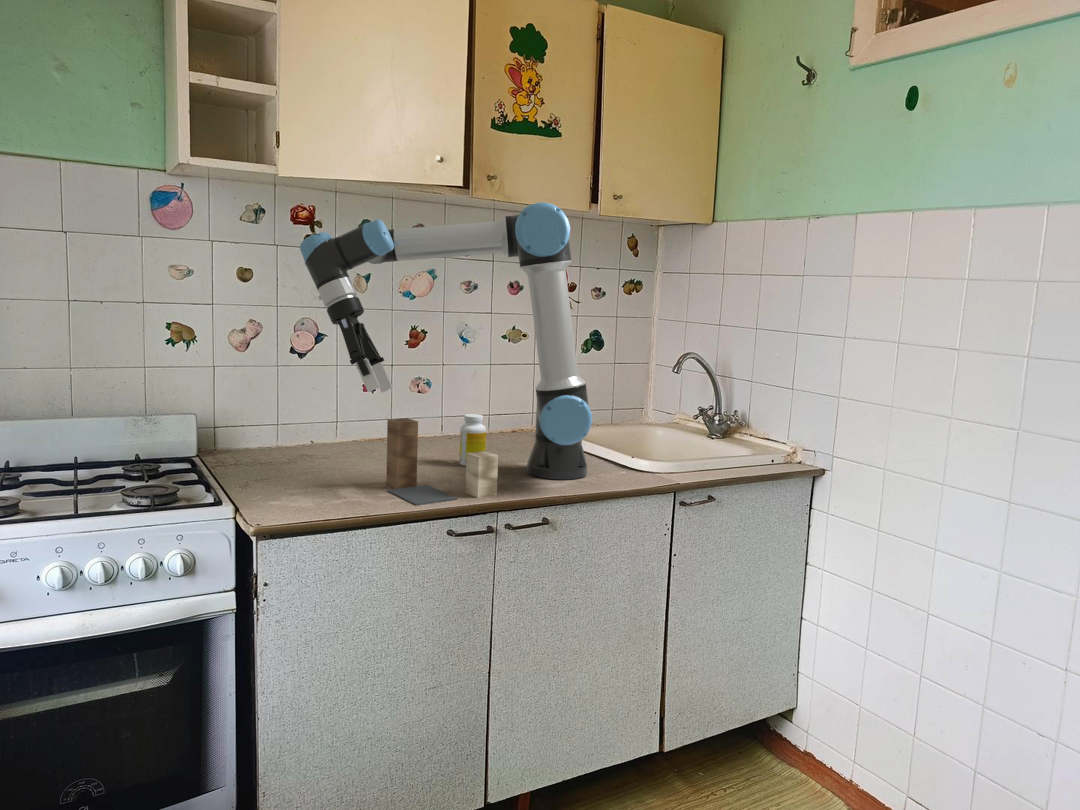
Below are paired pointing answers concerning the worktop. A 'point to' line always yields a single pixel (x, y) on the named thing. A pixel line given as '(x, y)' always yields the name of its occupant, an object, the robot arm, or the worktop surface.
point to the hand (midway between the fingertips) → (381, 390)
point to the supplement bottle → (472, 436)
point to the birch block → (481, 474)
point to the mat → (422, 494)
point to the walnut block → (402, 453)
